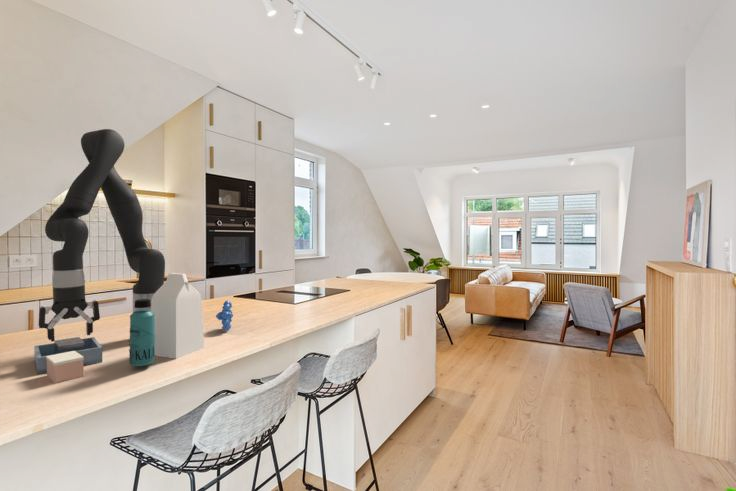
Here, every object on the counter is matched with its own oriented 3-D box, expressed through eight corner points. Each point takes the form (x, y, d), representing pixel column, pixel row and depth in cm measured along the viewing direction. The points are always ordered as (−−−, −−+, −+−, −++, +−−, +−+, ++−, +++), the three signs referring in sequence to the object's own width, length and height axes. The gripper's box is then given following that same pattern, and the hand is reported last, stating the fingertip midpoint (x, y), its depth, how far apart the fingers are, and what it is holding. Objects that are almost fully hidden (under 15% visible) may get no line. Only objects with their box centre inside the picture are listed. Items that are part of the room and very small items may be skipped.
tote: (93, 350, 122) (93, 337, 122) (102, 362, 112) (102, 347, 111) (34, 360, 112) (34, 345, 112) (37, 374, 101) (37, 358, 101)
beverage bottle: (136, 363, 111) (136, 297, 110) (159, 363, 111) (159, 297, 111) (124, 371, 104) (123, 301, 104) (148, 371, 105) (148, 301, 104)
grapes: (217, 327, 155) (217, 298, 154) (234, 326, 157) (234, 298, 156) (213, 334, 144) (213, 303, 143) (232, 333, 145) (232, 303, 145)
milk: (148, 354, 120) (148, 274, 119) (177, 344, 130) (177, 271, 130) (176, 359, 115) (176, 276, 115) (204, 348, 126) (204, 272, 125)
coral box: (74, 369, 106) (74, 350, 105) (83, 376, 101) (83, 356, 100) (46, 376, 101) (46, 356, 100) (54, 383, 96) (54, 363, 96)
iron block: (79, 352, 117) (79, 336, 117) (84, 358, 111) (84, 342, 111) (54, 357, 112) (54, 340, 112) (58, 363, 107) (58, 346, 107)
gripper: (95, 280, 119) (97, 330, 119) (36, 285, 108) (38, 340, 109) (100, 283, 113) (102, 335, 114) (38, 288, 103) (40, 346, 104)
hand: (70, 337), depth 112 cm, fingers open, 8 cm apart
